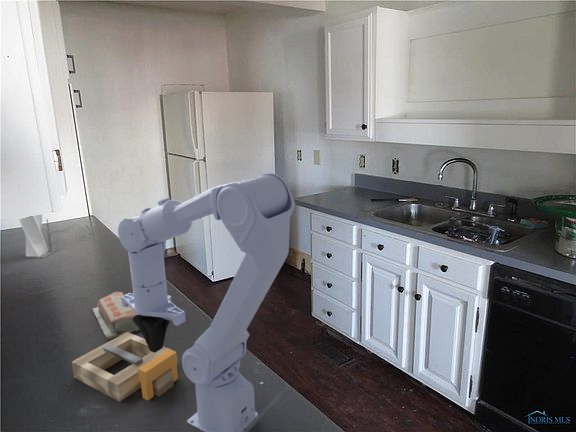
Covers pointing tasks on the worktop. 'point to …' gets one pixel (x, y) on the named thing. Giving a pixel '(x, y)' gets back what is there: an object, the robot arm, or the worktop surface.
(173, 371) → the wooden block
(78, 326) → the worktop surface
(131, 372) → the birch drawer
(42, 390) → the worktop surface
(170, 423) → the worktop surface
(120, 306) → the packaged product
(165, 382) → the wooden cube
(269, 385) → the worktop surface
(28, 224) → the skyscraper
